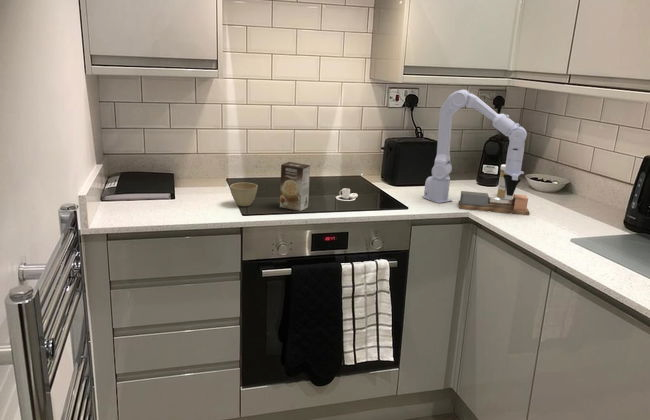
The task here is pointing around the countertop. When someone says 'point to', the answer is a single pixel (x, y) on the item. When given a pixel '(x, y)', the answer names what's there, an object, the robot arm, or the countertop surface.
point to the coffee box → (294, 186)
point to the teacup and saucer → (347, 195)
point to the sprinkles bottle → (501, 183)
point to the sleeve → (474, 199)
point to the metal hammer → (502, 200)
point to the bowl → (243, 193)
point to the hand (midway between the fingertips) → (509, 194)
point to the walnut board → (495, 209)
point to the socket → (520, 202)
